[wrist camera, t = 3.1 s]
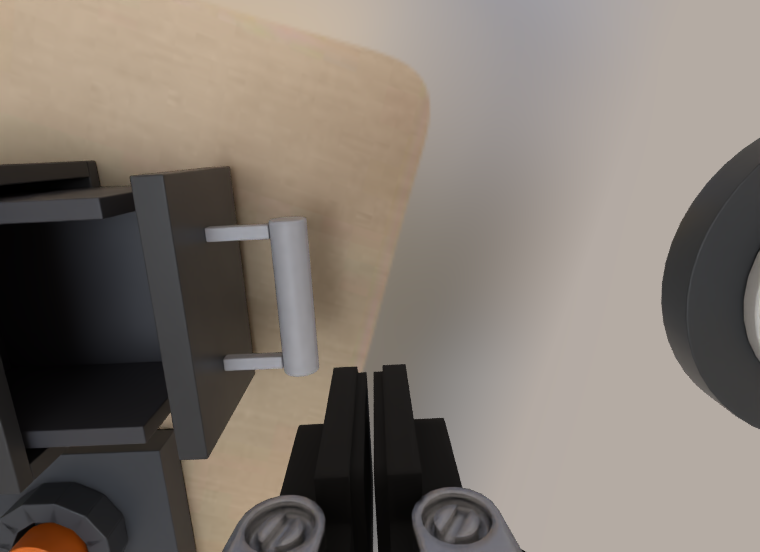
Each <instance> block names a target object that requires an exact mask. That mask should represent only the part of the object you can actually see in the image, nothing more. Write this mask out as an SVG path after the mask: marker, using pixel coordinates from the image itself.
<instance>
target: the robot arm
mask: <svg viewBox="0 0 760 552" xmlns="http://www.w3.org/2000/svg"><path fill="white" fill-rule="evenodd" d="M744 323H745V328H746V332H747V337H748V341H749V343H750V345H751V347H752V349H753V351H754V353H755V355H756V357H757V358H758V360H759V361H760V251H759V252H758V254H757V256H756V259H755V261H754V264H753V266H752V269H751V271H750V274H749V276H748V280H747V285H746V290H745V295H744ZM374 486H375V504H376V521H377V536H378V537H377V538H378V552H525V551H524V550H522V549H520V547H519V545H518V543H517V541H516V540H515V538H514V536H513V534H512V533H511V531H510V529H509V527H508V525H507V524H506V522H505V520H504V518H503V517H502V515H501V513H500V511H499V510H498V508H497V507H496V506H495V505H494V503H493V502H492V501H491V500H489V499H488V498H487V497H485V496H484V495H482V494H481V493H478V492H475V491H473V490H470V489H466V488H462V485H461V481H460V477H459V473H458V470H457V466H456V462H455V458H454V455H453V451H452V447H451V443H450V439H449V436H448V432H447V428H446V424H445V421H444V418H432V419H414V418H413V411H412V405H411V398H410V391H409V385H408V379H407V371H406V365H405V364H401V365H383V372H374ZM222 552H373V472H372V455H371V439H370V422H369V405H368V388H367V374H366V372H363V373H358V369H357V367H339V368H334V369H333V375H332V381H331V386H330V392H329V397H328V403H327V409H326V414H325V420H324V424H311V425H300V426H299V427H298V430H297V434H296V437H295V441H294V445H293V449H292V452H291V456H290V460H289V464H288V467H287V471H286V475H285V478H284V482H283V486H282V490H281V493H280V496H278V497H274V498H270V499H267V500H265V501H263V502H261V503H259V504H257V505H255V506H254V507H253V508H251V509H250V510H249V511H248V512H246V513H245V514H244V516H243V517H242V518H241V520H240V521H239V522H238V524H237V526H236V527H235V529H234V531H233V533H232V535H231V536H230V538H229V540H228V542H227V544H226V545H225V547H224V549H223V551H222Z"/></svg>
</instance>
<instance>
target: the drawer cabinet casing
mask: <svg viewBox="0 0 760 552" xmlns="http://www.w3.org/2000/svg"><path fill="white" fill-rule="evenodd" d="M93 187H100V184H99V178H98V173H97V168H96V163H95V161H75V162H51V163H27V164H3V165H0V192H11V191H31V190H52V189H73V188H93ZM68 448H69V447H48V448H25V446H24V443H23V439H22V435H21V431H20V428H19V424H18V420H17V416H16V412H15V409H14V405H13V401H12V397H11V394H10V390H9V386H8V382H7V379H6V375H5V371H4V367H3V363H2V360H1V356H0V495H3V494H20V493H22V492H23V491H24V490H25V489H26V488H27V487H28V486H29V485H30V484H31V483H32V482H33V480H35V479H36V478H37V477H38V476H39V475H40V474H41V473H43V472H44V471H45V470H46V469H47V468H48V467H49V466H50V465H51V464H52V463H53V462H54V461H55V460H56V459H57V458H58V457H59V456H60V455H61V454H62V453H63V452H64V451H65V450H67V449H68Z"/></svg>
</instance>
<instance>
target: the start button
mask: <svg viewBox="0 0 760 552" xmlns="http://www.w3.org/2000/svg"><path fill="white" fill-rule="evenodd" d="M9 552H88V551H87V547H86V544H85V542H84V541H83V540H82V539H81V538H80V537H79V536H78V535H77V534H76V533H75V532H74V531H73V530H71V529H69V528H66V527H64V526H61V525H59V524H56V523H42V524H39V525H36V526H34V527H32V528H31V529H29V530H28V531H27V532H26V533H25V534H24V536H23V537H22V538H21V539H20V540H19V541H18V542H17V543H16V544H15V545H14V546H13V547H12V549H11V550H10V551H9Z"/></svg>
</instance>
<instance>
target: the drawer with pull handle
mask: <svg viewBox="0 0 760 552" xmlns="http://www.w3.org/2000/svg"><path fill="white" fill-rule="evenodd" d="M130 182H131V186H114V187H93V188H73V189H52V190H31V191H11V192H0V356H1V360H2V363H3V367H4V371H5V375H6V379H7V382H8V386H9V390H10V394H11V397H12V401H13V405H14V409H15V412H16V416H17V420H18V424H19V428H20V431H21V435H22V439H23V443H24V446H25V448H48V447H72V446H96V445H120V444H144V443H147V441H148V440H149V439H150V438H151V436H152V435H153V434H154V433H155V431H156V430H157V429H158V428H159V426H160V425H161V424H162V423H163V421H164V420H165V419H166V418H167V416H168V415H169V414H170V413H171V416H172V422H173V428H174V433H175V439H176V445H177V451H178V456H179V460H194V459H208V457H209V455H210V454H211V452H212V450H213V448H214V446H215V445H216V443H217V441H218V439H219V437H220V436H221V434H222V432H223V430H224V429H225V427H226V425H227V423H228V421H229V420H230V418H231V416H232V414H233V412H234V411H235V409H236V407H237V405H238V403H239V402H240V400H241V398H242V396H243V394H244V393H245V391H246V389H247V387H248V385H249V384H250V382H251V380H252V378H253V376H254V375H255V370H257V369H280V368H283V366H284V371H285V373H286V374H287V375H290V376H295V377H300V376H307V375H310V374H313V373H315V372H316V371H317V370H318V369H319V358H318V347H317V335H316V323H315V312H314V300H313V288H312V277H311V265H310V254H309V242H308V230H307V219H306V218H305V217H301V216H289V217H279V218H273V219H271V220H269V223H268V224H247V225H237V222H236V214H235V205H234V197H233V189H232V181H231V173H230V167H229V166H226V167H207V168H197V169H188V170H179V171H170V172H160V173H151V174H142V175H133V176H130ZM269 238H270V240H271V250H272V259H273V269H274V278H275V288H276V297H277V306H278V316H279V325H280V335H281V344H282V352H276V353H253V352H252V344H251V336H250V328H249V319H248V311H247V303H246V295H245V287H244V279H243V271H242V262H241V254H240V246H239V241H240V240H262V239H269Z"/></svg>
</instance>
